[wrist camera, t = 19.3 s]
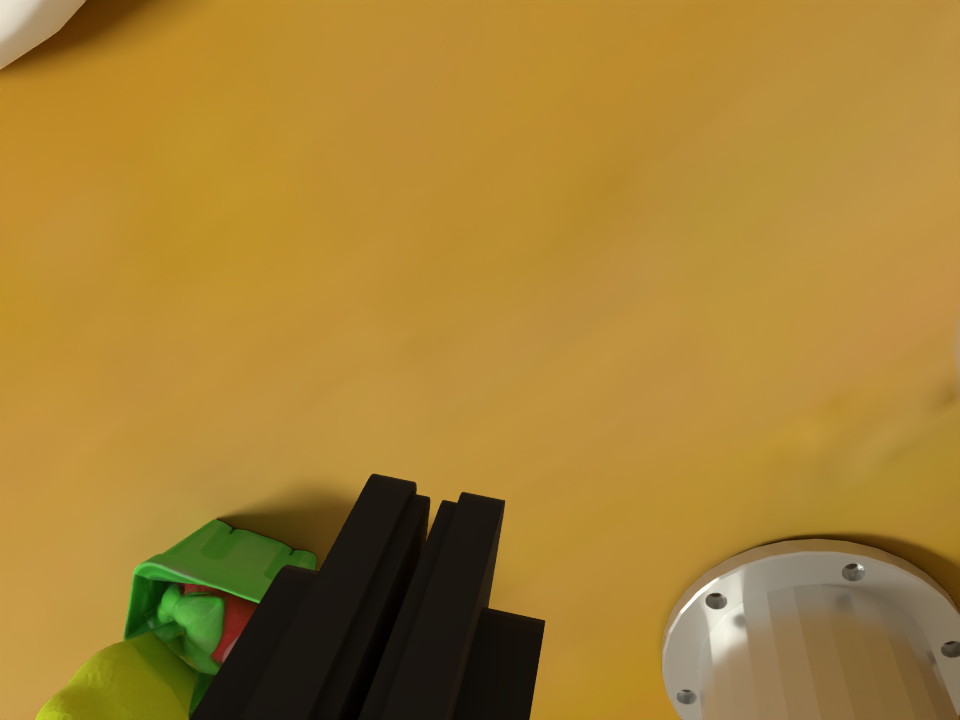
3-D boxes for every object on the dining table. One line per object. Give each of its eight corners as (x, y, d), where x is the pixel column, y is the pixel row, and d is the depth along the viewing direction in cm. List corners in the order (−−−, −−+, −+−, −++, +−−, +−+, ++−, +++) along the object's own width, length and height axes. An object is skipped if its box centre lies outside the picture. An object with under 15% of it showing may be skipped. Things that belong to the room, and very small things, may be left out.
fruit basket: (300, 710, 47) (205, 928, 36) (137, 652, 47) (-3, 854, 37) (350, 542, 41) (256, 742, 31) (166, 477, 41) (12, 656, 31)
